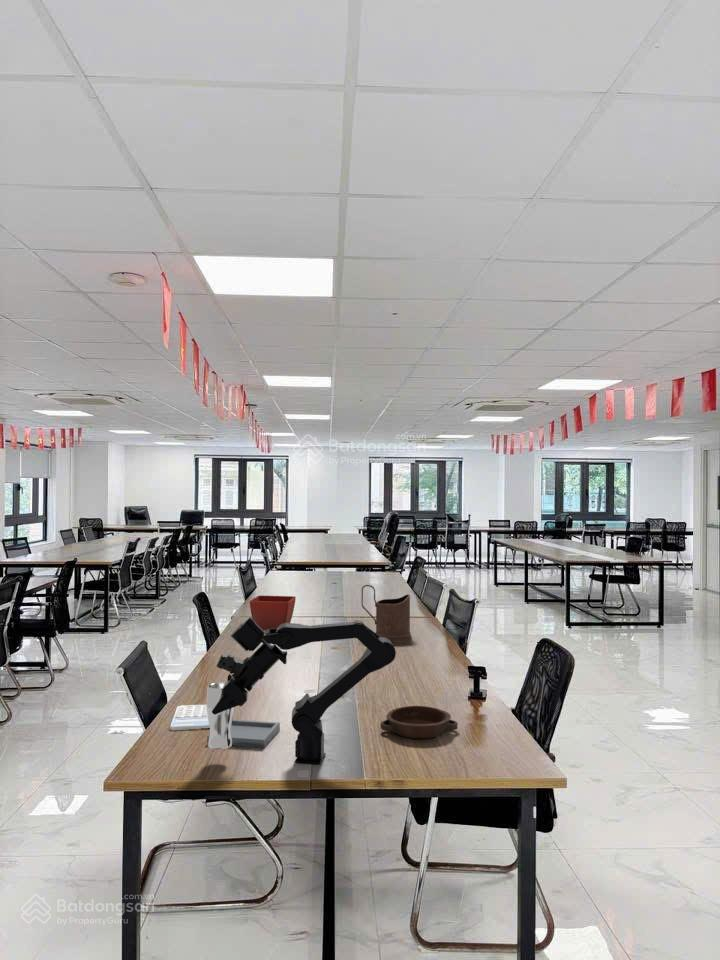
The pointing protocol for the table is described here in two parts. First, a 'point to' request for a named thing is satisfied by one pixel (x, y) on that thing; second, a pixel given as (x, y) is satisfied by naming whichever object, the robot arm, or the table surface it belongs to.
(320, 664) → the table surface
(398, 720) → the dish
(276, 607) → the plant pot
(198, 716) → the calculator
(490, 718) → the table surface
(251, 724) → the grey tray
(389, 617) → the brown pitcher
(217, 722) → the silver metal cup
